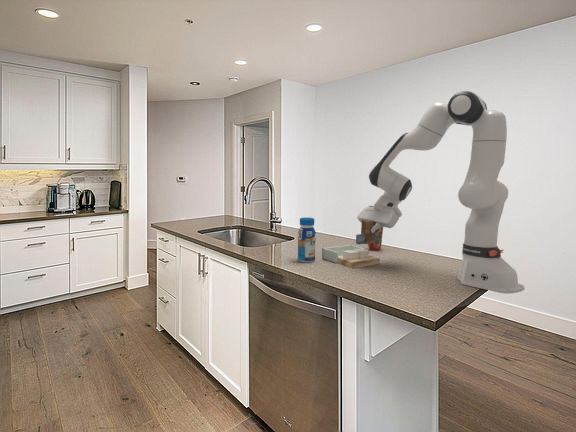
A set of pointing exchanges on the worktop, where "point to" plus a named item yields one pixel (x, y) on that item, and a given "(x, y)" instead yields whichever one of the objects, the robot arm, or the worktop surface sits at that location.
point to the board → (359, 261)
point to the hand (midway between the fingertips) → (367, 230)
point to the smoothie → (377, 245)
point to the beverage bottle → (306, 240)
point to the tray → (336, 252)
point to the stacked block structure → (367, 233)
